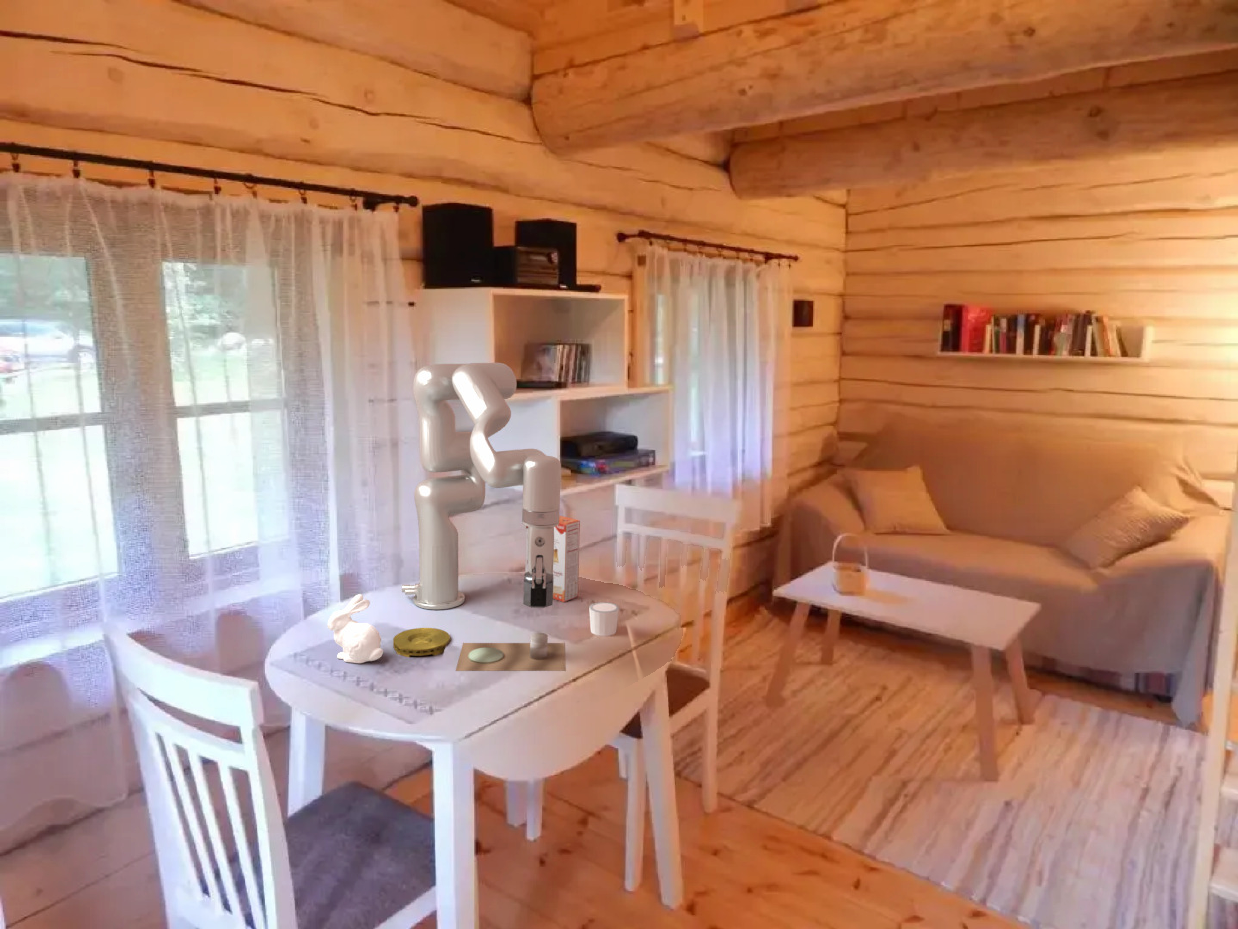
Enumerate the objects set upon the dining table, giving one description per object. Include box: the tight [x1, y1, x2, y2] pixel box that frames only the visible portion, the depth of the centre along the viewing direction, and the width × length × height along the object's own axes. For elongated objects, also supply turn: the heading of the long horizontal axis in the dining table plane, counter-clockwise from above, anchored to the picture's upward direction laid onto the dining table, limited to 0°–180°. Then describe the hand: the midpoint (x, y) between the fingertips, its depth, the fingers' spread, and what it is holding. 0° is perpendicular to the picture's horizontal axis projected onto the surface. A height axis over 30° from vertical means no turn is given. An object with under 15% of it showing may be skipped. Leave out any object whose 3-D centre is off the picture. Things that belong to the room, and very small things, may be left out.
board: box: [455, 632, 566, 672], centre depth 173 cm, size 22×14×6 cm, turn 95°
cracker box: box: [524, 514, 581, 603], centre depth 213 cm, size 14×6×21 cm, turn 52°
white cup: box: [588, 601, 620, 637], centre depth 188 cm, size 7×7×7 cm
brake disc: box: [392, 627, 451, 658], centre depth 179 cm, size 12×12×2 cm
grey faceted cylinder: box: [522, 570, 554, 609], centre depth 171 cm, size 6×6×6 cm
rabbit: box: [327, 593, 384, 664], centre depth 173 cm, size 12×9×12 cm
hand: (538, 599), depth 171 cm, fingers closed on grey faceted cylinder, 6 cm apart
